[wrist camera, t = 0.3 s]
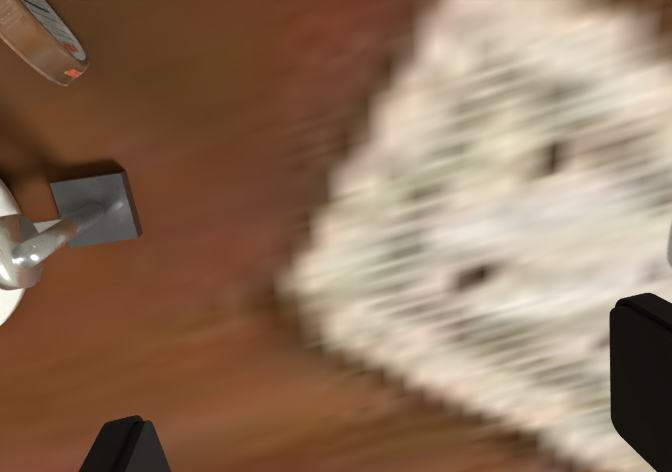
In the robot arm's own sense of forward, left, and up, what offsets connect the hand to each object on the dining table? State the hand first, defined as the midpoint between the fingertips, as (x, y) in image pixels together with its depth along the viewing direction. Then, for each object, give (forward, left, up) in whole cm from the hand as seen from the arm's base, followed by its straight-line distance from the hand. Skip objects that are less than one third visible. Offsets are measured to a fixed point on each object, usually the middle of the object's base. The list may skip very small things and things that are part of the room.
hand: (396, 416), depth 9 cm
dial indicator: (+1, -19, -36) cm, 41 cm away
